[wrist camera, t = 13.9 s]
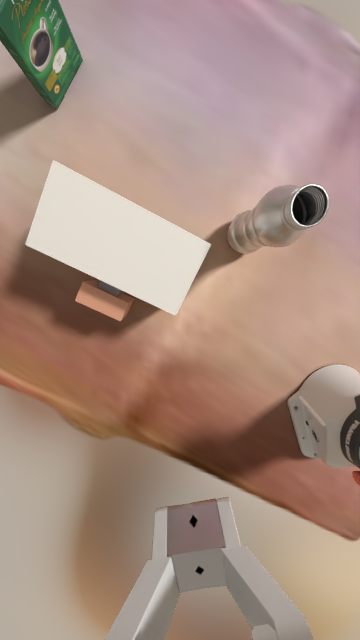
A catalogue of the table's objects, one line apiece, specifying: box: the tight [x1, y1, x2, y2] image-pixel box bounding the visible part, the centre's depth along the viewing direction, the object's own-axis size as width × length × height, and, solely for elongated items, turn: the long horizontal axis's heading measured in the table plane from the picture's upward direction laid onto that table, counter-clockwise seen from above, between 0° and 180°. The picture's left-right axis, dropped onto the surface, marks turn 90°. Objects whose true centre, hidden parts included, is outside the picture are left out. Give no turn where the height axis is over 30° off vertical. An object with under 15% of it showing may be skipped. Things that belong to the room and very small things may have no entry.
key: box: [75, 280, 134, 321], centre depth 34 cm, size 10×7×5 cm
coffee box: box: [0, 0, 83, 108], centre depth 28 cm, size 8×3×13 cm, turn 144°
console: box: [25, 160, 211, 316], centre depth 34 cm, size 10×20×13 cm, turn 64°
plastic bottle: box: [227, 184, 329, 254], centre depth 30 cm, size 6×7×20 cm
